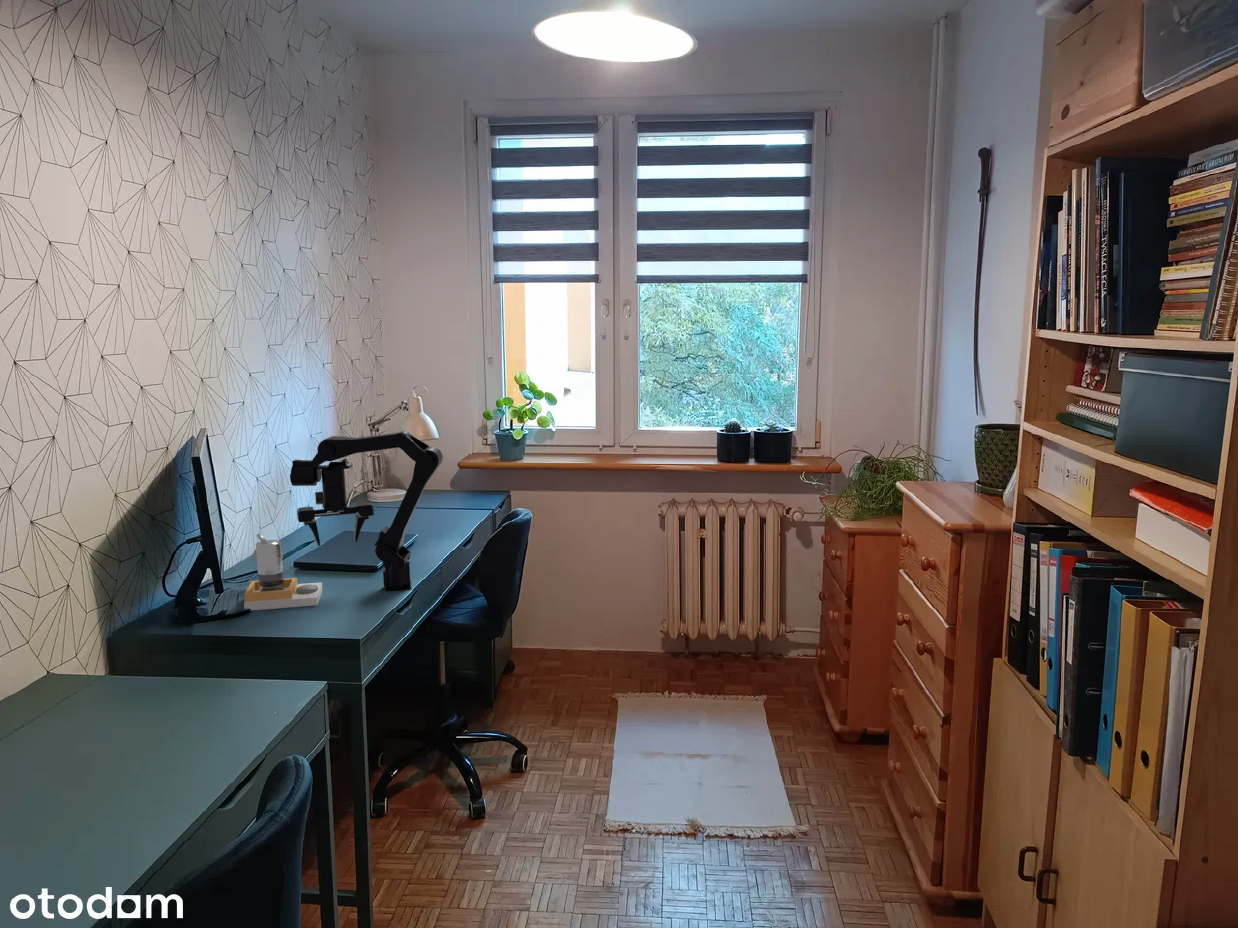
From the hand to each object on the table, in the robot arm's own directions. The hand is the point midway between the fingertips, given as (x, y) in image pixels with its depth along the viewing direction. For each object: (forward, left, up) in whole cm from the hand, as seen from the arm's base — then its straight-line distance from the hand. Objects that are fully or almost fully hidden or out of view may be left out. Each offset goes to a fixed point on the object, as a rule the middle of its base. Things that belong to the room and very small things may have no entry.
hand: (337, 543), depth 233 cm
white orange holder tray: (+13, +7, -12) cm, 19 cm away
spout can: (+16, +7, -10) cm, 20 cm away
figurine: (+19, -8, -12) cm, 24 cm away
